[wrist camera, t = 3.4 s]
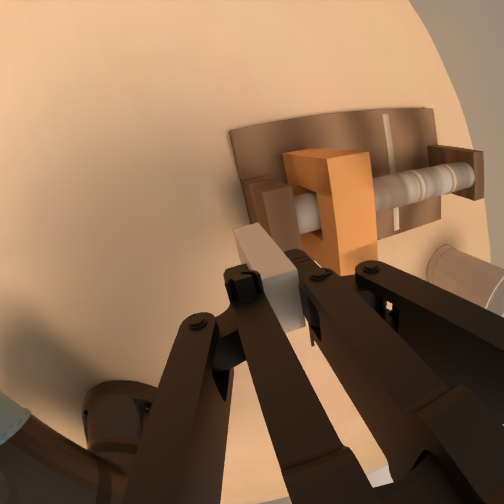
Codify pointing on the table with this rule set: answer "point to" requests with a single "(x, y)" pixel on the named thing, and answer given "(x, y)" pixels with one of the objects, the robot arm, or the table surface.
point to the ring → (337, 205)
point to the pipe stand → (382, 166)
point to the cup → (468, 278)
